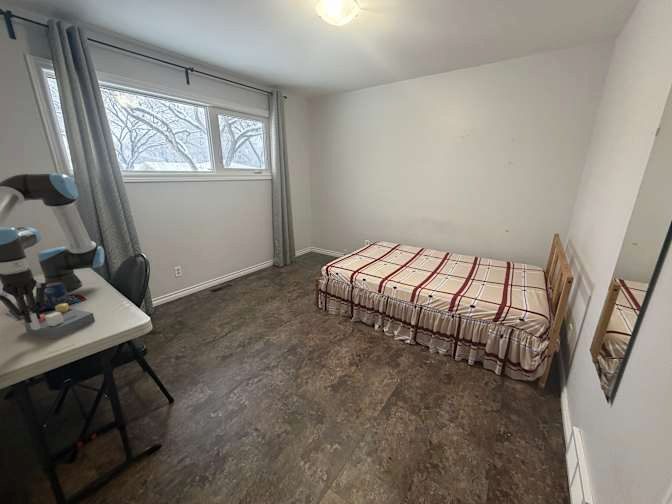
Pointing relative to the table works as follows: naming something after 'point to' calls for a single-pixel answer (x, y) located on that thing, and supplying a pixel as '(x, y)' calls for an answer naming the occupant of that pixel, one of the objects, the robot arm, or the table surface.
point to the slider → (54, 319)
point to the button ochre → (62, 308)
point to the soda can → (56, 294)
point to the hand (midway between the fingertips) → (36, 328)
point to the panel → (63, 324)
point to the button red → (42, 318)
